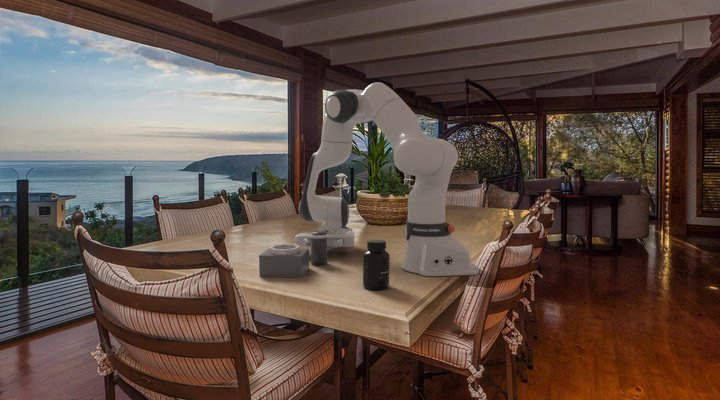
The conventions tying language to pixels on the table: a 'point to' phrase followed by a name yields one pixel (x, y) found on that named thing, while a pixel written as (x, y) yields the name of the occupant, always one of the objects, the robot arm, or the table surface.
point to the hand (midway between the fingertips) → (321, 244)
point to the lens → (318, 248)
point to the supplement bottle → (376, 266)
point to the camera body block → (284, 261)
